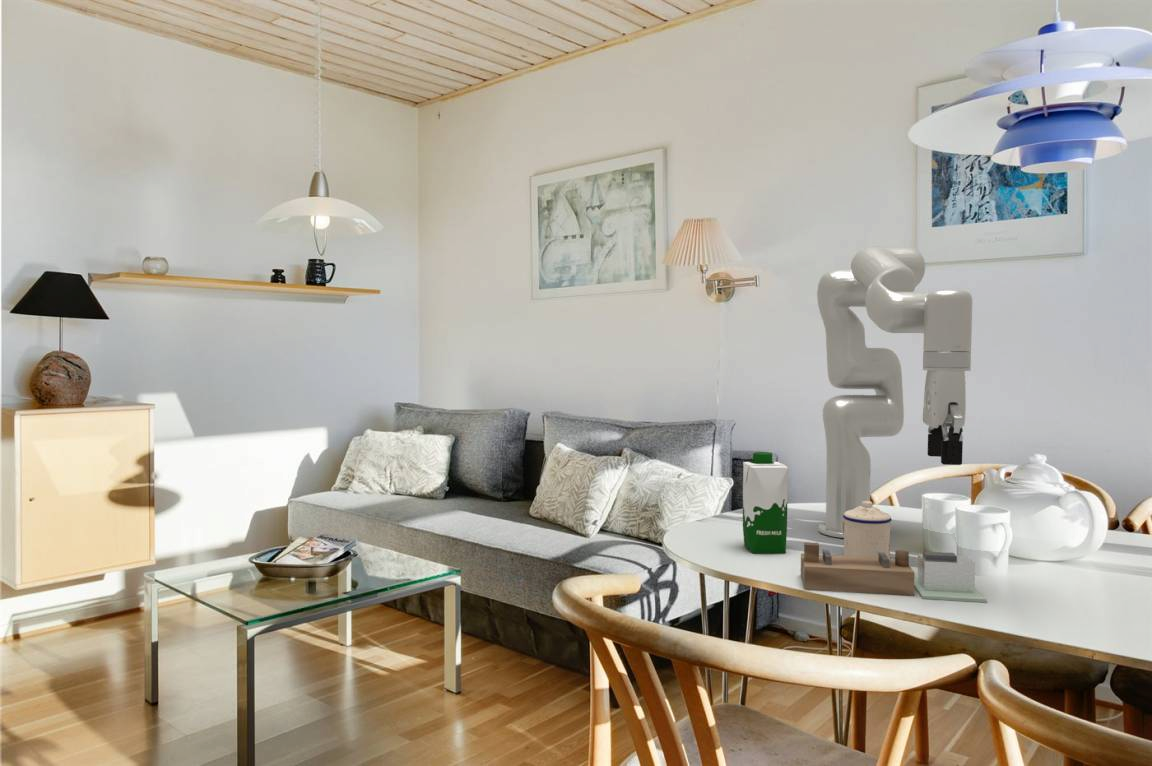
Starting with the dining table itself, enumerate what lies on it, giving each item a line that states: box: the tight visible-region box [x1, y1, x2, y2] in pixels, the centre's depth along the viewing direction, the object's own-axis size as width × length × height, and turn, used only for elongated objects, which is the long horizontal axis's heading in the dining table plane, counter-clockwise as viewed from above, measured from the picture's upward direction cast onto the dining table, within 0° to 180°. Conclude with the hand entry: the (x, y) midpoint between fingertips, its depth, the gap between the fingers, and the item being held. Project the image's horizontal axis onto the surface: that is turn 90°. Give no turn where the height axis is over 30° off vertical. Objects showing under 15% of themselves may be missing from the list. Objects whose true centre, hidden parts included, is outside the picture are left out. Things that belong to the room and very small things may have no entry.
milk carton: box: [742, 451, 789, 554], centre depth 166 cm, size 9×9×20 cm
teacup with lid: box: [842, 500, 893, 558], centre depth 160 cm, size 12×9×12 cm
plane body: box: [800, 541, 915, 597], centre depth 141 cm, size 9×18×7 cm, turn 78°
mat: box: [914, 575, 988, 603], centre depth 138 cm, size 12×10×1 cm
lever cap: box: [917, 551, 976, 593], centre depth 138 cm, size 5×8×6 cm, turn 79°
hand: (944, 460), depth 138 cm, fingers open, 9 cm apart
